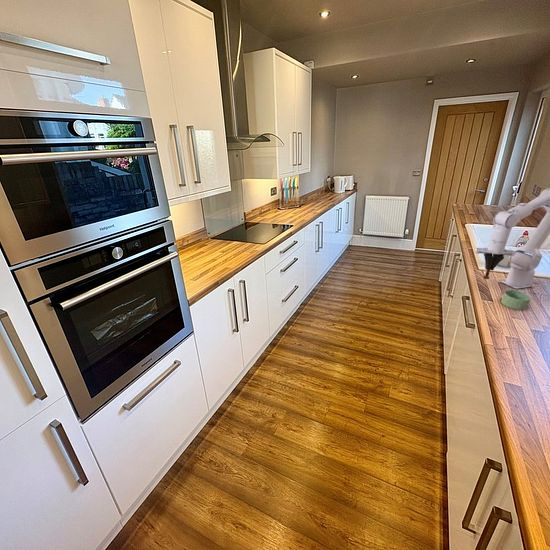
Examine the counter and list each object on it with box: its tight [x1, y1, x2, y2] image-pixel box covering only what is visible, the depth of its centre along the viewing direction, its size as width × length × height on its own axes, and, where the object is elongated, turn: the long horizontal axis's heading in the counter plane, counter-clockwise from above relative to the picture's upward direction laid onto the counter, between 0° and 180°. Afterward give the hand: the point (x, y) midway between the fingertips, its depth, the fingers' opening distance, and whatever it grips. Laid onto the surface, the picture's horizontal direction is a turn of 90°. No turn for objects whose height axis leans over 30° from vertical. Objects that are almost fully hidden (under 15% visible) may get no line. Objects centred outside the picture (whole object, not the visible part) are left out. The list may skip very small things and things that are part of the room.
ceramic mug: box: [496, 255, 511, 268], centre depth 156 cm, size 11×8×8 cm
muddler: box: [483, 260, 494, 280], centre depth 129 cm, size 2×2×9 cm
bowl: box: [500, 289, 532, 311], centre depth 121 cm, size 9×9×4 cm
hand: (489, 269), depth 129 cm, fingers closed on muddler, 1 cm apart
